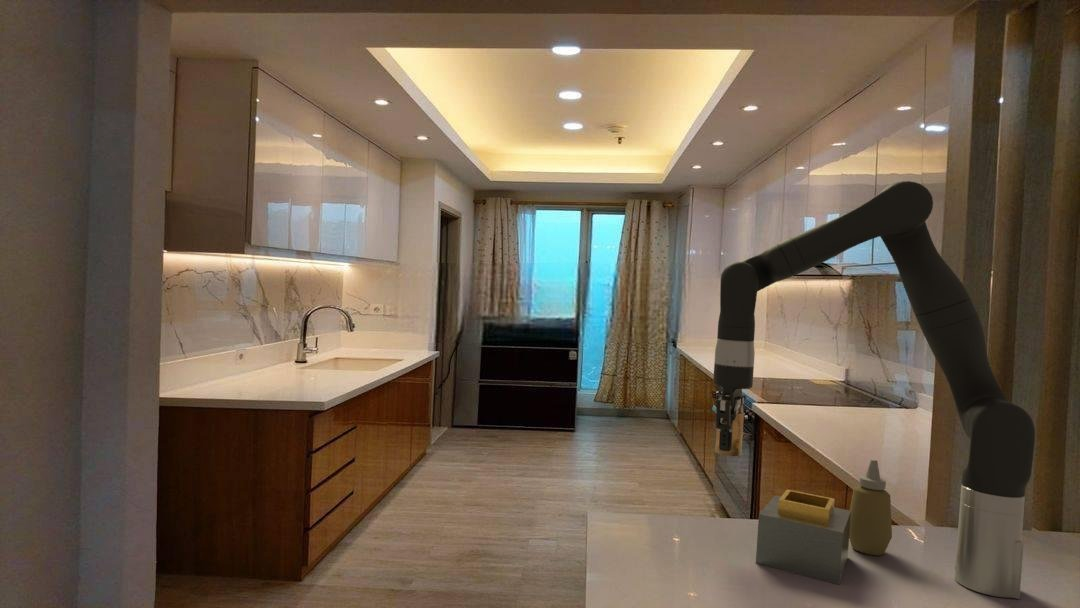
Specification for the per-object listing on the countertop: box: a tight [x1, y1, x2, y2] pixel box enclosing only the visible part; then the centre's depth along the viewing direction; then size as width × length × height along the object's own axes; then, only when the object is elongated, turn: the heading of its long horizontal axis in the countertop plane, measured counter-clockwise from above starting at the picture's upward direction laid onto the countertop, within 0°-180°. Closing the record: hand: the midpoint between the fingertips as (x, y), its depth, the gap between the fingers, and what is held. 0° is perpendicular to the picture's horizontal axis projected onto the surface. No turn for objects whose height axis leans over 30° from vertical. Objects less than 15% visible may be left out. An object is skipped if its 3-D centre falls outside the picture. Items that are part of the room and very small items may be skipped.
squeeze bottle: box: [849, 459, 893, 556], centre depth 128 cm, size 8×8×18 cm
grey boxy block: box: [755, 489, 851, 585], centre depth 120 cm, size 14×15×12 cm
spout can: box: [714, 411, 745, 457], centre depth 128 cm, size 5×5×10 cm
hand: (728, 447), depth 128 cm, fingers closed on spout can, 5 cm apart
